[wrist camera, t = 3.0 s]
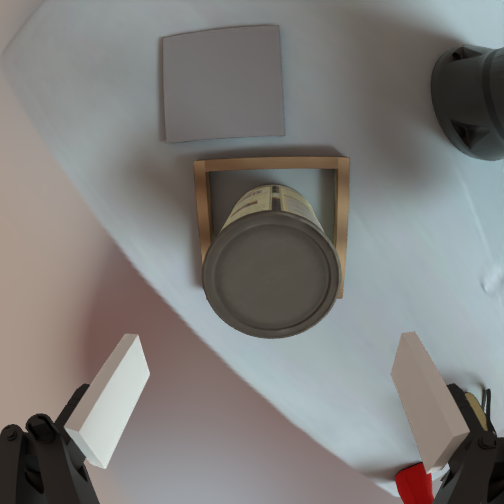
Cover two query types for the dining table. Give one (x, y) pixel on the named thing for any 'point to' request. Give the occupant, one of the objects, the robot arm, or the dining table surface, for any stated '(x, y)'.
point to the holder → (275, 163)
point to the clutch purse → (482, 410)
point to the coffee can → (271, 265)
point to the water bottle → (415, 485)
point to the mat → (223, 84)
